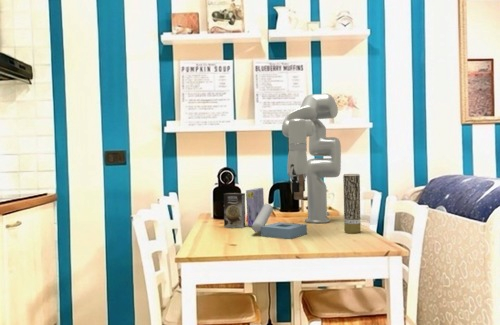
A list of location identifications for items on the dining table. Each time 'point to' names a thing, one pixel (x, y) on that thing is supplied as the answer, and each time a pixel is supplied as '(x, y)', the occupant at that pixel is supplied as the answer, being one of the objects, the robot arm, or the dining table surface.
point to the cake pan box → (254, 204)
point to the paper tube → (351, 203)
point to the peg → (300, 194)
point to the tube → (262, 217)
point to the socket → (284, 230)
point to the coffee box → (234, 210)
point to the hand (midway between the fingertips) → (298, 191)
